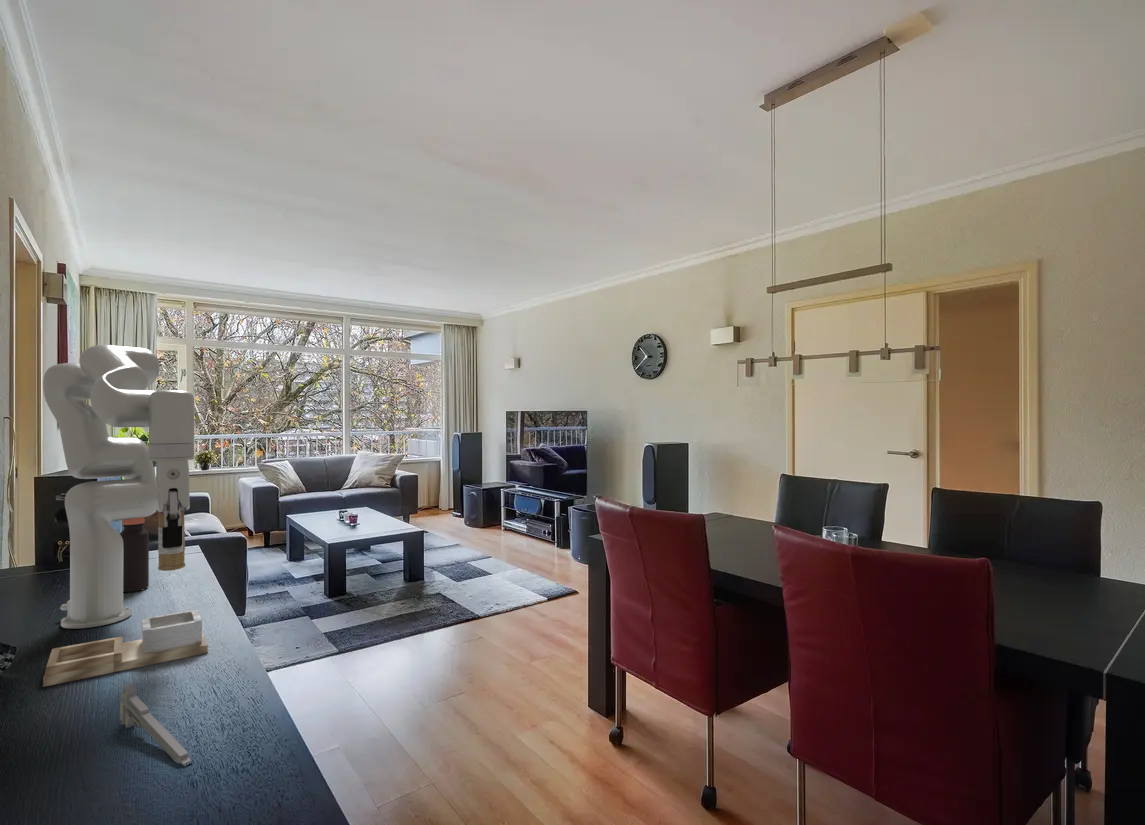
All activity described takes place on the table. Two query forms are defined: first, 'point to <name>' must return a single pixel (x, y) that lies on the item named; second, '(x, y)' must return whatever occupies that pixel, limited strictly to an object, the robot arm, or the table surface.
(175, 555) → the sprinkles bottle
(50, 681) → the stand board
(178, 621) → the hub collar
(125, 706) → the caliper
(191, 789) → the table surface
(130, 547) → the vinegar
